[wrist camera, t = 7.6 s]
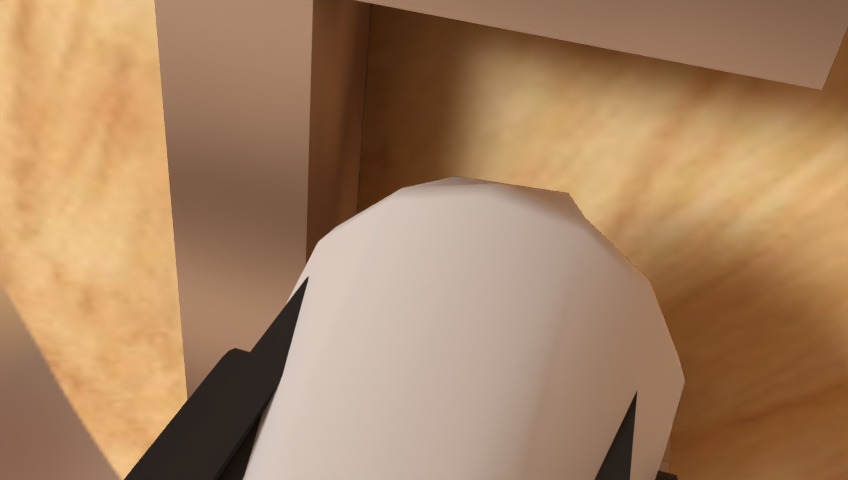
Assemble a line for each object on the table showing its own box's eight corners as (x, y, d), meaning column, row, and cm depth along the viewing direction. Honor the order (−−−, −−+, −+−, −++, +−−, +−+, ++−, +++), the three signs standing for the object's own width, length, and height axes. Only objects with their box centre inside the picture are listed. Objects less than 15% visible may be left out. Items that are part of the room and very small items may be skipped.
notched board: (227, -380, 13) (120, -415, 11) (925, -310, 11) (994, -333, 9) (247, 396, 23) (193, 471, 20) (621, 508, 21) (612, 607, 18)
